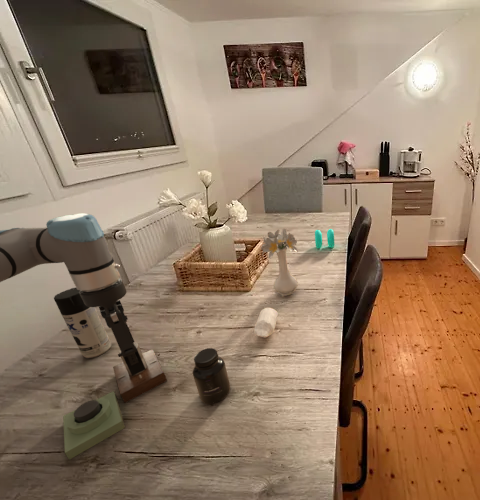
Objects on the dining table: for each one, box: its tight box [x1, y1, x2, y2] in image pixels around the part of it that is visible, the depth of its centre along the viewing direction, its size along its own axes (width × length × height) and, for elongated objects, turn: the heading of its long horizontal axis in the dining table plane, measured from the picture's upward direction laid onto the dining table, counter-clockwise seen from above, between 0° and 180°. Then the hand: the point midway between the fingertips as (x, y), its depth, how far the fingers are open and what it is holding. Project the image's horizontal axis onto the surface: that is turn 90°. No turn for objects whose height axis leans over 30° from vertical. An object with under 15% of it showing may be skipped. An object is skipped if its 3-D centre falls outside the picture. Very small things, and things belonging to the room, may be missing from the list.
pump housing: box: [62, 390, 126, 460], centre depth 61 cm, size 11×9×4 cm
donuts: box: [314, 228, 335, 249], centre depth 150 cm, size 10×10×10 cm
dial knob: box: [118, 342, 147, 375], centre depth 71 cm, size 4×4×7 cm
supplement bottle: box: [192, 347, 231, 405], centre depth 66 cm, size 7×7×12 cm
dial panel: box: [112, 348, 168, 404], centre depth 73 cm, size 12×9×3 cm
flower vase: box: [260, 228, 299, 297], centre depth 106 cm, size 13×18×25 cm
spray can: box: [53, 287, 112, 359], centre depth 79 cm, size 7×7×20 cm
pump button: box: [74, 399, 101, 423], centre depth 60 cm, size 4×4×2 cm
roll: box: [253, 307, 279, 338], centre depth 87 cm, size 6×12×6 cm, turn 5°
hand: (133, 357), depth 71 cm, fingers open, 13 cm apart
